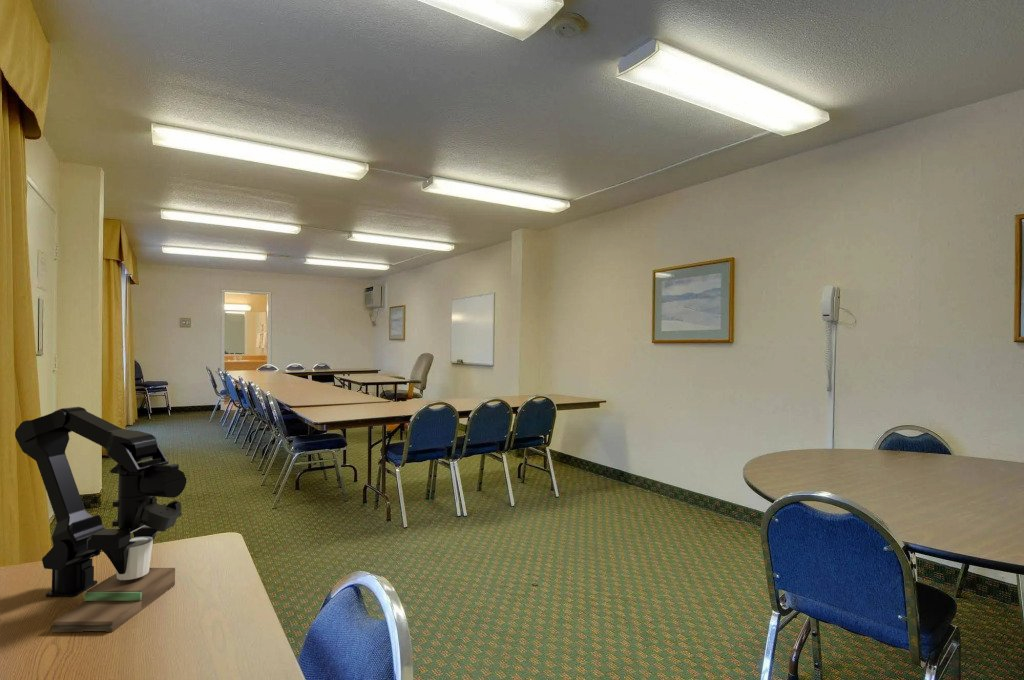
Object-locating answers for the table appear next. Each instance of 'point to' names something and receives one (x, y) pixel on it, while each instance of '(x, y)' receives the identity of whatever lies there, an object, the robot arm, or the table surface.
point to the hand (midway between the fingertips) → (133, 567)
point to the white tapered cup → (138, 558)
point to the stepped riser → (115, 602)
